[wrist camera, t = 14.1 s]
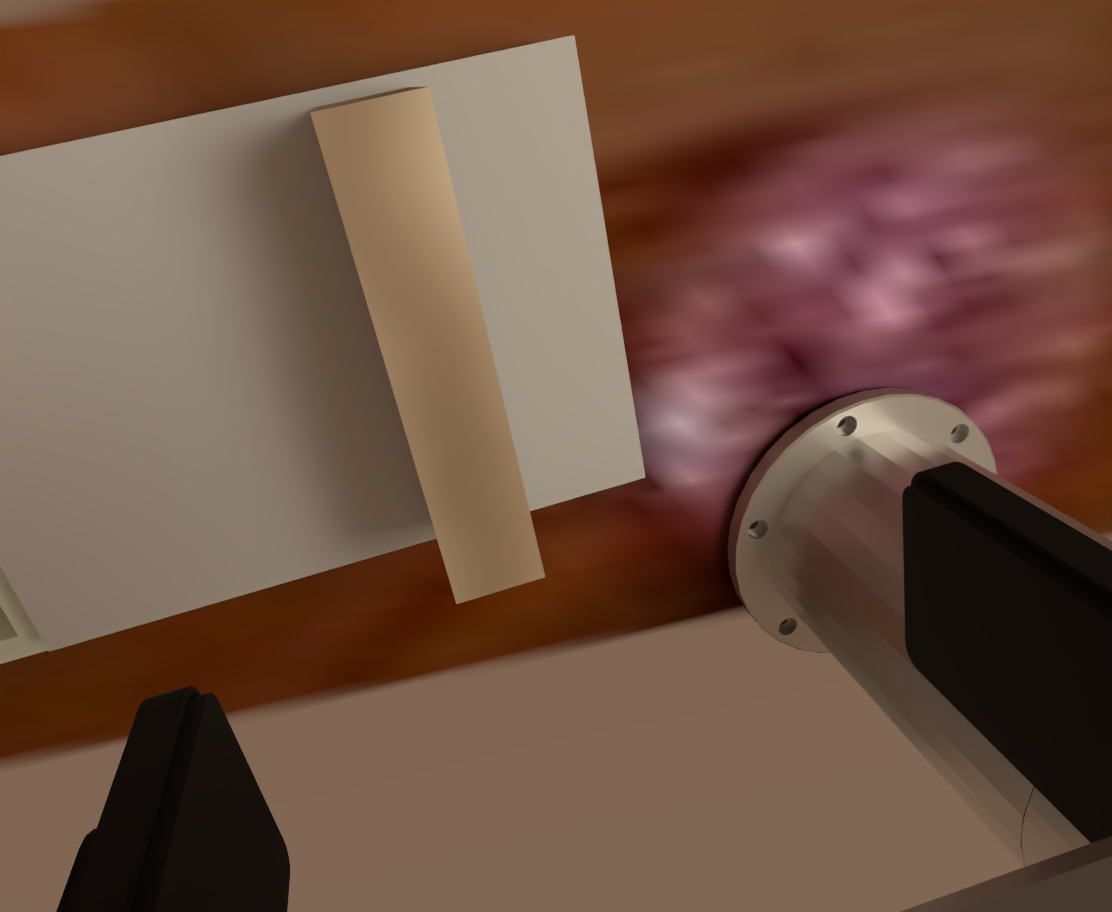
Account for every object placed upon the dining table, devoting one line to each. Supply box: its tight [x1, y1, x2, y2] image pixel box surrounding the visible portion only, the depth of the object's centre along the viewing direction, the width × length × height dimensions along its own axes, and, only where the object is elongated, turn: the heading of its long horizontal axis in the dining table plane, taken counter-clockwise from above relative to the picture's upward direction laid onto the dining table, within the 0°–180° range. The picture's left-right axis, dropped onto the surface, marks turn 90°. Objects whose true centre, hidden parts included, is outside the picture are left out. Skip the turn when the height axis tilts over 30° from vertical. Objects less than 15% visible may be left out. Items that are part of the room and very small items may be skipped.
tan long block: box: [310, 87, 545, 604], centre depth 23 cm, size 3×13×5 cm, turn 11°
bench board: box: [0, 35, 645, 651], centre depth 27 cm, size 20×14×4 cm
